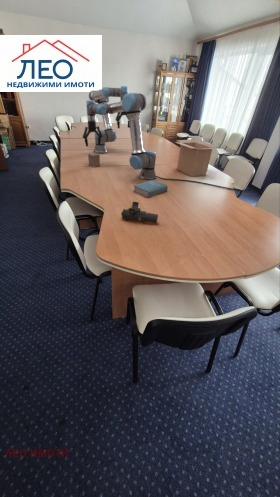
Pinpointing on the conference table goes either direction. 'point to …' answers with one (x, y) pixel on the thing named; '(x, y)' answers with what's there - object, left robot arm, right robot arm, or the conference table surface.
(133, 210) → the laser sight
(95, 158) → the block
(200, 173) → the box
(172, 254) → the conference table surface
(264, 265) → the conference table surface
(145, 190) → the book
